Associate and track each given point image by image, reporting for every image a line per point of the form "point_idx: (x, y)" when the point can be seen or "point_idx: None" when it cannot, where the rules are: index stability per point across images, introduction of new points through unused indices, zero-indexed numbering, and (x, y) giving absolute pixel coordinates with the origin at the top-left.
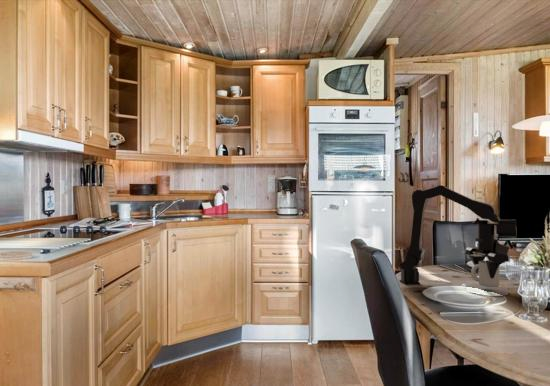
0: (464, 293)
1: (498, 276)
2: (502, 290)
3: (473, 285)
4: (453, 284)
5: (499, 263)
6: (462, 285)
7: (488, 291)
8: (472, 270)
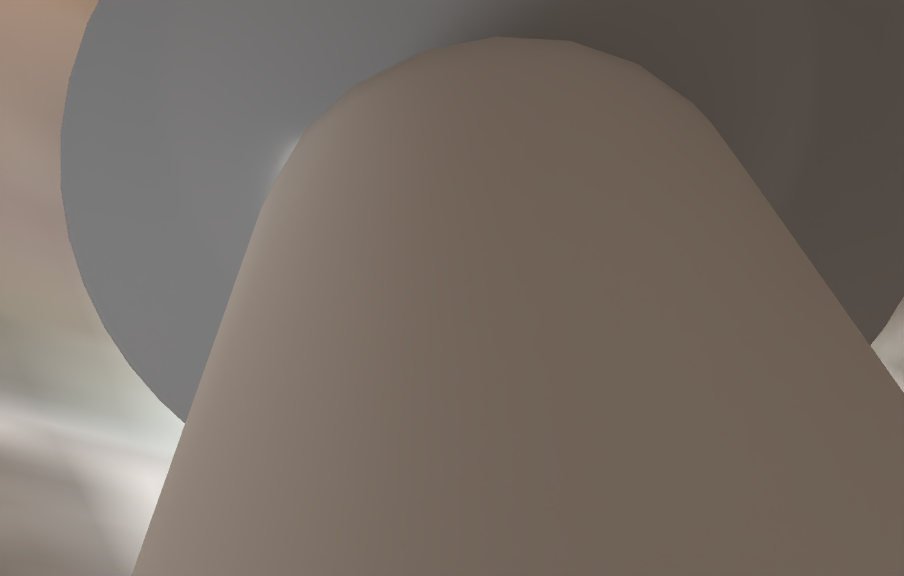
0: None
1: (817, 276)
2: None
3: (198, 372)
4: (45, 535)
5: None
6: (77, 449)
7: None
8: None
